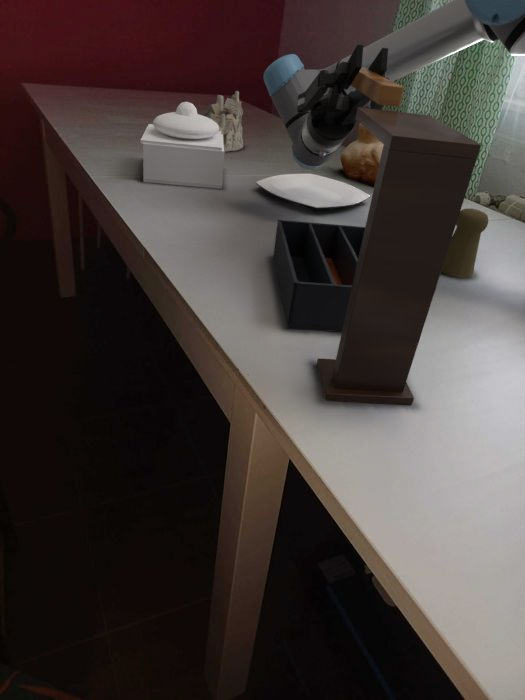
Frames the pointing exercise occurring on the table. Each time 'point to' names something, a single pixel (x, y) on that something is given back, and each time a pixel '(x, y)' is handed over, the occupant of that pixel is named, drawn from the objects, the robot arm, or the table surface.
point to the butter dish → (183, 149)
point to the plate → (312, 191)
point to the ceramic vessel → (362, 157)
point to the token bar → (378, 88)
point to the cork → (465, 243)
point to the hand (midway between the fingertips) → (372, 57)
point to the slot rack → (316, 272)
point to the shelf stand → (399, 254)
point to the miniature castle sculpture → (228, 120)
